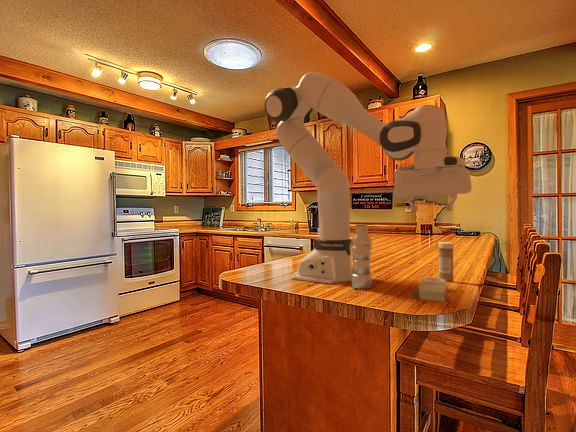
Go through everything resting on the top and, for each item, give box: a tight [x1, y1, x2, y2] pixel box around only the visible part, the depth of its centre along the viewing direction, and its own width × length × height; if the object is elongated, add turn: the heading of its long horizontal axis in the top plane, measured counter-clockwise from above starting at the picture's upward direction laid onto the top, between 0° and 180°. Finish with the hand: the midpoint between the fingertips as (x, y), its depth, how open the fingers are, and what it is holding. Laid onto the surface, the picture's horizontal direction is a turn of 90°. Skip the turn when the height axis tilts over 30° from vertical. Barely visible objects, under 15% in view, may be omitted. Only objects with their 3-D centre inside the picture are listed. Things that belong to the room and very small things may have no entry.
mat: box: [410, 291, 450, 303], centre depth 87 cm, size 9×8×1 cm
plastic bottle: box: [350, 224, 373, 290], centre depth 98 cm, size 6×7×20 cm
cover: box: [418, 283, 446, 302], centre depth 87 cm, size 6×8×2 cm
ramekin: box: [421, 276, 447, 292], centre depth 95 cm, size 6×6×4 cm
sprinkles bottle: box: [438, 241, 455, 284], centre depth 106 cm, size 5×5×13 cm
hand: (431, 211), depth 90 cm, fingers open, 8 cm apart
